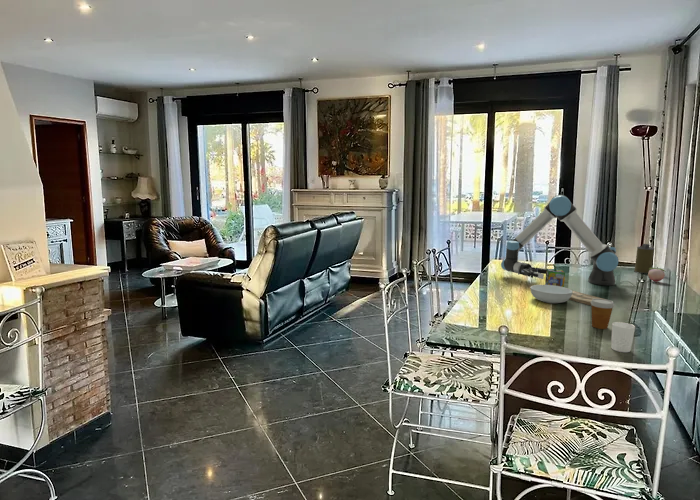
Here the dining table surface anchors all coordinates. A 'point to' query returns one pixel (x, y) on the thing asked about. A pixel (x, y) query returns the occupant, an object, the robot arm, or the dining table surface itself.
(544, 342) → the dining table surface
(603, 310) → the disposable coffee cup
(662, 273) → the decorative fruit
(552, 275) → the chalk box
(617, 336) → the white cup
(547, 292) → the serving bowl
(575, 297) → the oak board
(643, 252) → the canister
